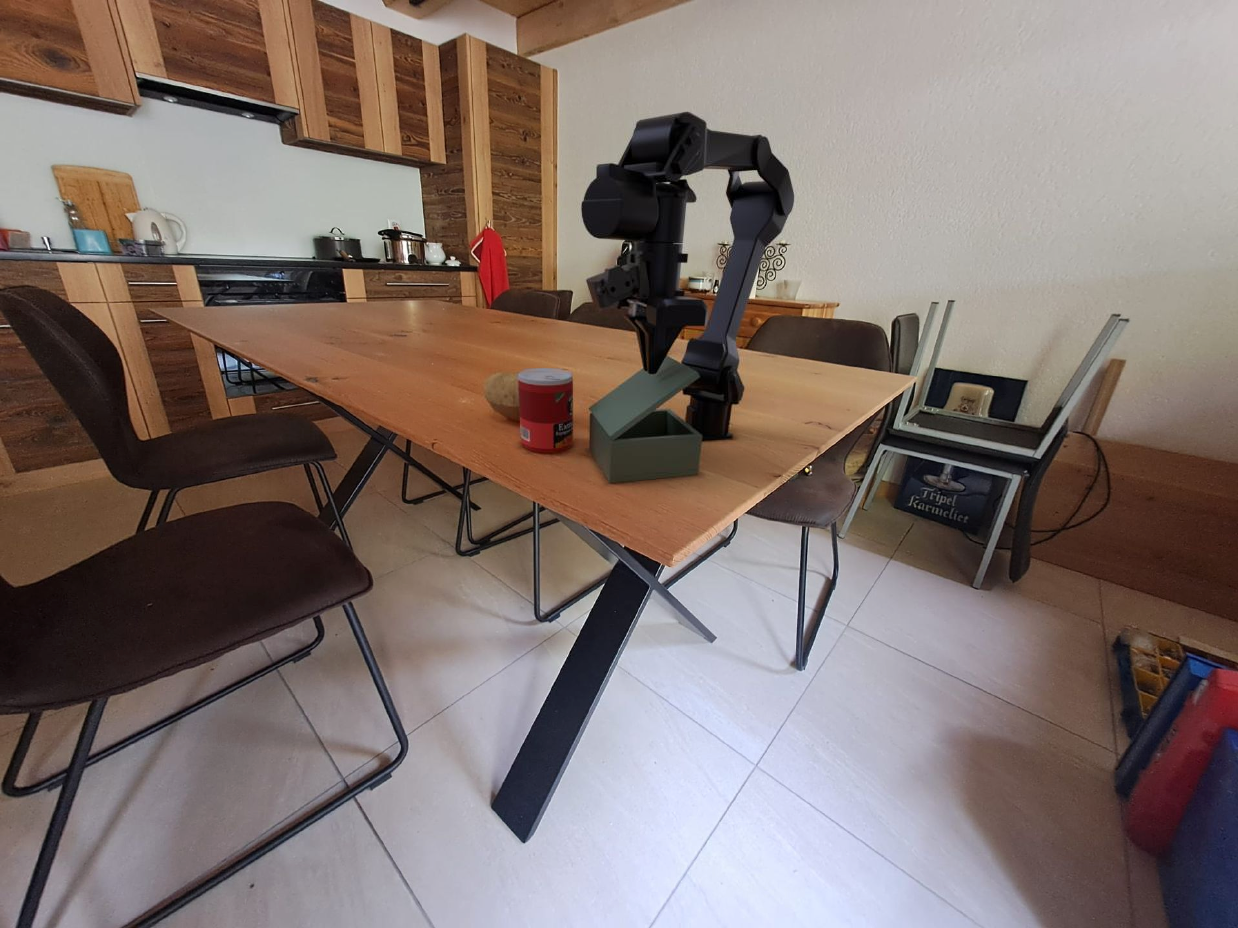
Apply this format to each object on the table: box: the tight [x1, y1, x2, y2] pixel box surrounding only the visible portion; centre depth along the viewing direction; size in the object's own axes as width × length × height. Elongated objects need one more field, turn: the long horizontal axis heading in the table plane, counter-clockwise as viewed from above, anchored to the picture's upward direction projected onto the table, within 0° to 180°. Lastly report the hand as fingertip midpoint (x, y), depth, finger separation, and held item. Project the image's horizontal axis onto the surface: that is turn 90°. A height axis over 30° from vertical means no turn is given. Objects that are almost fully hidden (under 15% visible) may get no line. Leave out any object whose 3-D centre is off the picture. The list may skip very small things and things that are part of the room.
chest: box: [588, 408, 703, 484], centre depth 67 cm, size 13×12×6 cm
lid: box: [588, 355, 700, 440], centre depth 63 cm, size 14×12×1 cm
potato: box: [482, 372, 520, 423], centre depth 81 cm, size 10×14×8 cm
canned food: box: [517, 367, 574, 455], centre depth 70 cm, size 8×8×11 cm
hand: (649, 372), depth 63 cm, fingers closed
